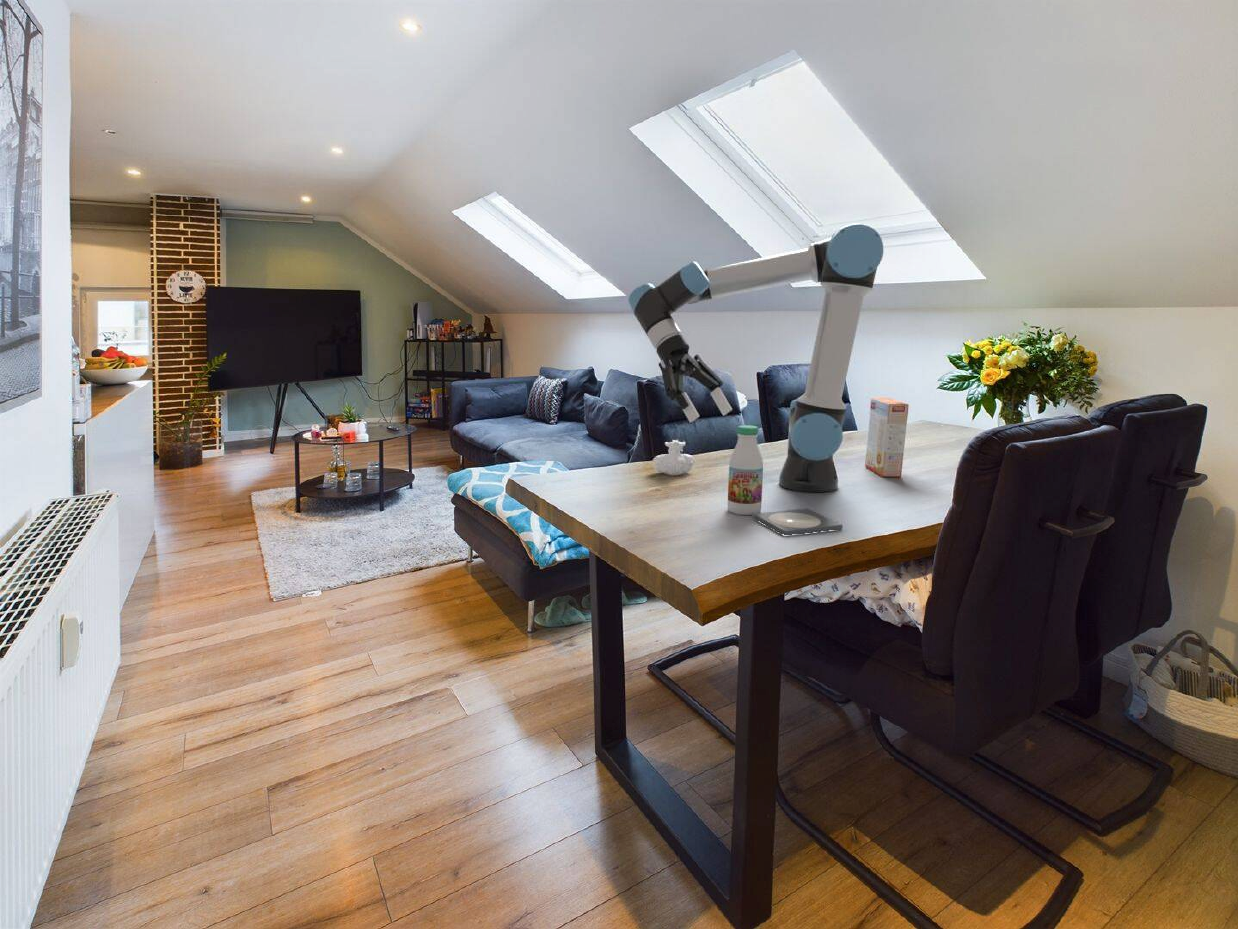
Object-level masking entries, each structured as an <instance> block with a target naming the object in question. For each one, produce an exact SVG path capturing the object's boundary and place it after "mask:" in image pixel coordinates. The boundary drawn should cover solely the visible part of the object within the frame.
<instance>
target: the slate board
mask: <svg viewBox="0 0 1238 929" xmlns="http://www.w3.org/2000/svg"><path fill="white" fill-rule="evenodd" d="M752 516H753V517H752V519H753V520H754V519H755V521H756V522H758V521H760V522H761V523H763V524H765V525H766V526H765V525H764V526H765V527H767V526H768V527H769V529H770V528H772V529H774V530H775V531H774V530H773V531H774V532H776V531H777V532H779V533H780V534H779V533H778V534H779V535H781V534H784V535H792V534H805V533H813V532H821V531H829V530H839V531H843V525H844V524H842V523H840V522H838V521H835V520H834V519H832V518H829V517H827V516H824V515H822V514H820V513H819V512H816V511H814V510H812V509H810V508H809V507H807V508H798V509H797V508H796V509H787V510H778V511H776V510H775V511H768V512H760V513H756V514H753V515H752ZM760 522H759V523H760ZM761 523H760V524H761ZM763 524H762V525H763ZM768 527H767V528H768ZM772 529H771V530H772ZM777 532H776V533H777ZM813 534H814V533H813ZM805 535H806V534H805Z"/></svg>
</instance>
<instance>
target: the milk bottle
mask: <svg viewBox="0 0 1238 929" xmlns="http://www.w3.org/2000/svg"><path fill="white" fill-rule="evenodd" d="M736 432H737V442H736V445H735V447H734V449H733V451H732V453H731V455H730V459H729V466H728V485H727V486H728V487H727V510H728V512H729V513H731V514H734V515H739V516H740V515H741V516H753V514H756V513H761V510H762V504H763V503H762V498H763V497H762V496H763V476H764V460H763V456H762V454H761V451H760V449H759V445H758V440H757V439H758V436H759V435H758V434H759V427H758V426H756V425H750V424H749V425H747V424H743V425H738V426H737V431H736Z"/></svg>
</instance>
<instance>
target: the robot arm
mask: <svg viewBox="0 0 1238 929" xmlns="http://www.w3.org/2000/svg"><path fill="white" fill-rule="evenodd" d="M883 257H884V243H883V239H882V237H881V236H880V234H879V233H878V231H877V230H876V229H874V228H873V227H872V226H870V225H867V224H864V223H851V224H848V225H844V226H842V227H841V228H839V229H837V230H835V233H833V234H832V236H831V237H830V238H827V239H824V240H821V241H817V242H814V243H813V242H812V243H810V245H809V246H808V247H807V248H803V249H799V250H796V251H795V250H794V251H789V252H785V253H780V254H776V255H771V256H765V257H761V258H756V259H752V260H747V261H743V262H738V263H733V264H728V265H723V266H718V267H714V268H710V269H702V268H701V265H699V263H698V262H696V261H691V262H689V263H688V264H686V265H685V266H682V267H681V268H680V269H679V270H678V271H676V272H675V273H674V274H672V275H671V276H670V277H668V278H667V279H666V280H664V281H663V282H662V283H660V284H659V285H657V286H654V285H653V284H652V283H644V284H642V285H640V286H637V287H636V288H634V289H633V291H631V293H630V294H629V296H628V304H629V306H630V308H631V311H632V312H633V315H634V316H635V318H636V320H637V322H638V323H639V325H640V326H641V328H642V329H643V331H644V333H645V334H646V336H647V338H648V339H649V341H650V343H651V344H652V346H653V348H654V349H655V350H656V354H657V355H658V357H659V359H660V362H658V367H659V369H660V371H661V375H662V376H661V377H662V381H663V385H664V391H665V395H666V397H668V398H670V400H671V401H676V403H677V404H678V405H679V407H680V408H681V409H682V411H683V413H684V414H685V416H686V418H687V420H688V422H689V423H693V422H695V421H696V420H697V419H698V418H699V417H700V414H699V412H698V411H697V409H696V407H695V405H694V404H693V402H692V400H691V399H690V397H689V395H688V393H687V392H684V377H689V378H691V379H692V378H693V379H695V380H696V381H697V382H698V383H699V384H701V385H702V386H704V387H705V388H706V389H708V390H709V391H710V393H709V394H710V397H712V399H713V401H714V402H715V404H716V406H717V408H718V410H719V411H720V413H721V414H722V416H727V415H728V413H730V412H732V411H733V408H732V406H731V405H730V402H729V401H728V400H727V398H726V396H725V394H724V393H723V390H722V389H721V387H722V386H723V384H724V381H723V380H722V379H721V378H720V377H719V376H718V375H716V373H715V372H714V371H713V370H712V369H711V367H709V366H708V365H707V364H706V363H705V362H704V360H702V358H701V357H700V355H699V354H695V355H694V356H693V357H692V356H691V355H690V354H689V350H690V345H689V343H688V341H687V340H686V338H685V337H684V335H682V331H681V330H680V328H679V326H678V325H677V323H676V321H675V320H674V318H673V316H672V314H673V313H676V311H678V310H679V309H681V308H682V307H684V306H686V305H687V304H688V305H692V304H697V303H699V302H703V301H708V300H713V299H718V298H724V297H728V296H734V295H738V294H743V293H748V292H753V291H755V292H756V291H758V290H764V289H769V288H775V287H781V286H786V285H790V284H795V283H800V282H801V283H802V282H805V281H810V280H811V281H813V282H815V283H816V284H817V283H820V284H819V285H821V287H822V288H823V290H824V297H823V301H822V307H821V312H820V317H819V320H818V321H819V322H818V327H817V332H816V335H815V336H816V337H815V341H814V347H813V350H812V351H813V352H812V356H811V360H810V365H809V370H808V371H809V372H808V376H807V381H806V386H805V391H804V393H803V394H802V395H801V396H800V395H799V397H797V398H796V399H794V400H791V402H790V405H789V406H790V408H789V411H788V412H789V421H788V422H789V424H788V437H787V455H786V459H785V461H784V463H783V466H782V469H781V472H780V473H779V477H778V480H779V481H778V485H779V486H781V487H783V488H785V489H788V490H792V491H797V492H806V493H826V492H831V491H835V490H837V489H838V488H839V487H838V485H839V477H838V474H837V470H836V466H835V462H834V457H833V456H834V454H836V452H837V451H838V450H839V448H840V447H841V445H842V442H843V438H844V436H843V425H844V420H845V416H846V411H847V406H846V404H845V403H844V401H843V399H842V397H843V393H844V389H845V383H846V379H847V376H848V370H849V366H850V361H851V356H852V352H853V348H854V342H855V338H856V335H857V334H856V333H857V330H858V325H859V319H860V316H861V315H860V314H861V310H862V306H863V301H864V298H865V296H866V295H867V294H868V293H870V292H871V291H872V290H873V287H874V283H875V279H876V275H877V270H878V267H879V266H880V263H881V261H882V260H883Z"/></svg>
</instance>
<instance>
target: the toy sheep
mask: <svg viewBox="0 0 1238 929" xmlns="http://www.w3.org/2000/svg"><path fill="white" fill-rule="evenodd" d="M664 445H665V446H666V447H668V451H667V452H668V453H667V454H666V453H665V454H660V455H656V456H655V457H653V459H652V464H653V468H654V470H655V472H657V473H661V474H666V475H668V476H674V475H676V476H680V475H682V474H685V473H688V472H690V471H691V470H692V468H693V465H694V463H695V461H696V460H695V457H693V455H690V454H687V453H681V452H683V448H684V446H686V441H682V442H681V441H679V439H675V440H674V439H672V440H671V441H669V442H668V441H666V442H664Z"/></svg>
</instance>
